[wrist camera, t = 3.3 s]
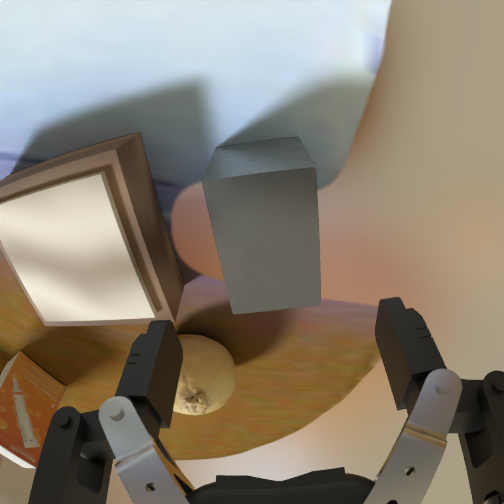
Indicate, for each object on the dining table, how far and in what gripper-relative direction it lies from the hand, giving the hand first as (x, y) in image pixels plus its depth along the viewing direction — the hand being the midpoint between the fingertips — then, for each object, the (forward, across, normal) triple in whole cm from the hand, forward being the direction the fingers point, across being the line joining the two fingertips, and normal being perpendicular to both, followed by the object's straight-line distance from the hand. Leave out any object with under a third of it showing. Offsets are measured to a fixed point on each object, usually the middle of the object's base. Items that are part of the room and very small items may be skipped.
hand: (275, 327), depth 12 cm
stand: (+11, +13, 0) cm, 17 cm away
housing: (+11, 0, 0) cm, 11 cm away
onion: (+11, +8, +14) cm, 19 cm away
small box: (+11, +33, +19) cm, 39 cm away
